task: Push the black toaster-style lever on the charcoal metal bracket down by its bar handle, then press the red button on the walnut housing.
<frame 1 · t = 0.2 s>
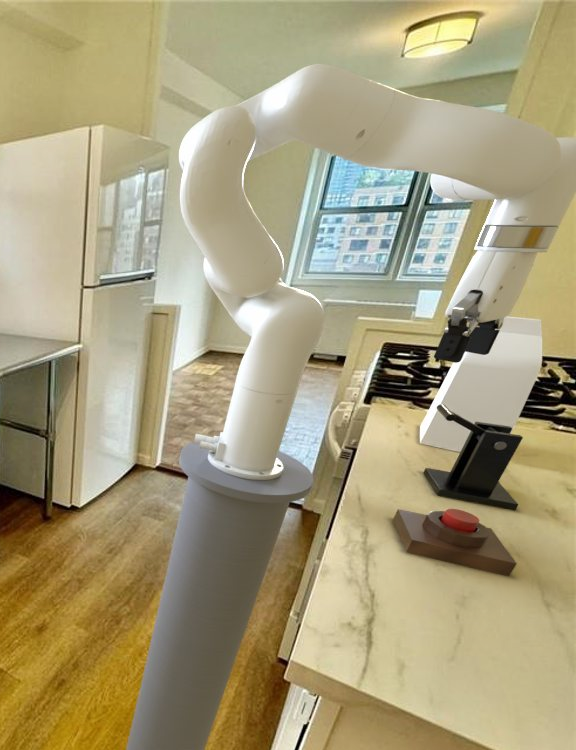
hand: (460, 356, 77), 23 cm above the worktop, tool pointing down, fingers open, 9 cm apart
button: (459, 520, 68), point 4 cm above the worktop, slide at 0.1 cm
lever: (471, 426, 81), point 12 cm above the worktop, hinge at 25.0°
bracket: (466, 490, 84), on the worktop
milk: (456, 443, 102), on the worktop
button box: (445, 546, 70), on the worktop
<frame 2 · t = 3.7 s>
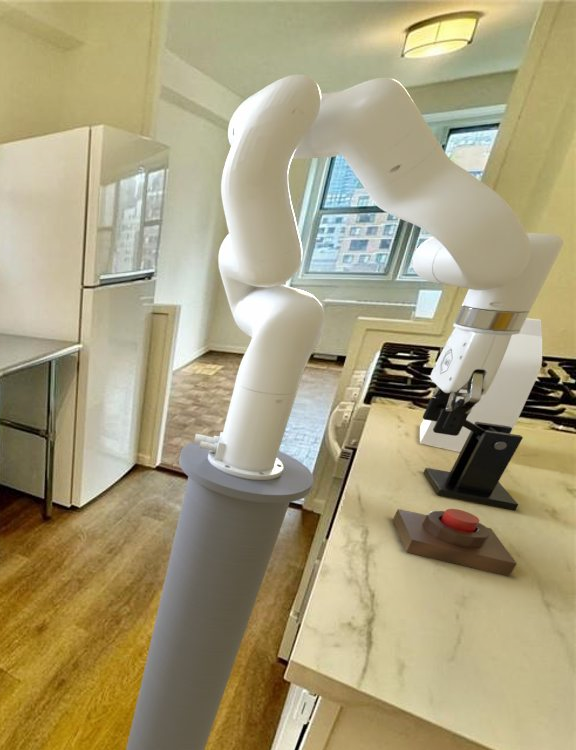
hand: (439, 425, 83), 11 cm above the worktop, tool pointing down, fingers closed on lever, 5 cm apart
lever: (471, 426, 81), point 12 cm above the worktop, hinge at 25.0°, touching gripper
everything else where it was.
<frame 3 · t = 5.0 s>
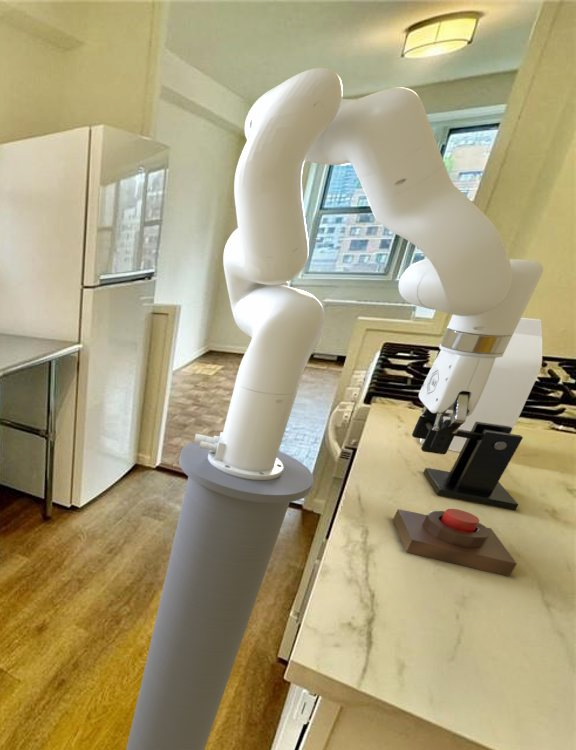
hand: (428, 444, 84), 7 cm above the worktop, tool pointing down, fingers closed on lever, 5 cm apart
lever: (465, 434, 81), point 10 cm above the worktop, hinge at 2.0°, touching gripper
everything else where it was.
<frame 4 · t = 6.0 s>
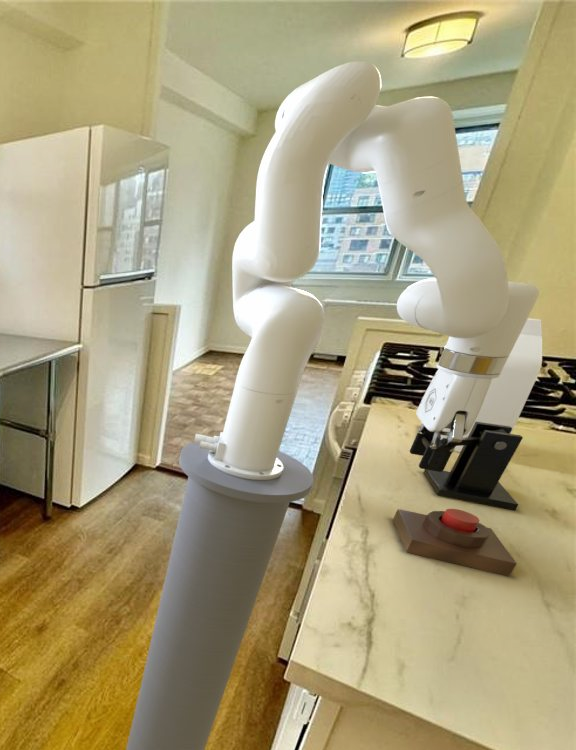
hand: (425, 461, 86), 4 cm above the worktop, tool pointing down, fingers closed on lever, 5 cm apart
lever: (463, 441, 82), point 9 cm above the worktop, hinge at -19.7°, touching gripper
everything else where it was.
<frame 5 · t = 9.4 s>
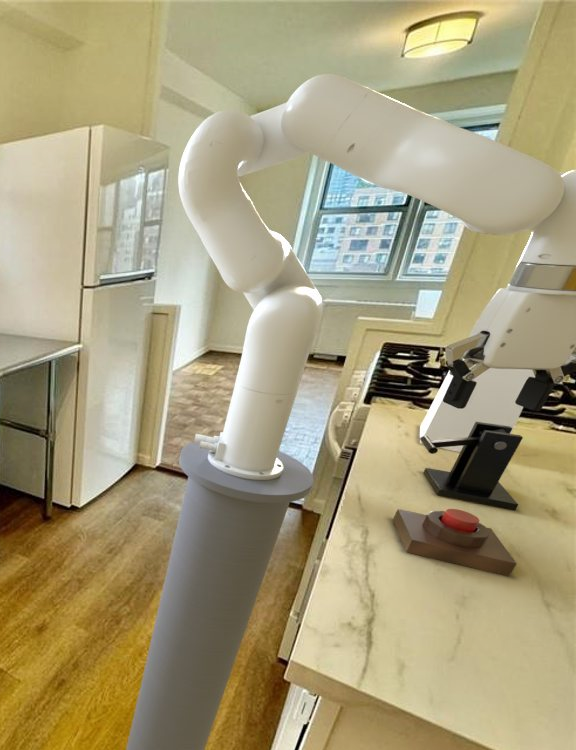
hand: (489, 406, 68), 19 cm above the worktop, tool pointing down, fingers open, 9 cm apart
lever: (463, 441, 82), point 9 cm above the worktop, hinge at -19.9°
everything else where it was.
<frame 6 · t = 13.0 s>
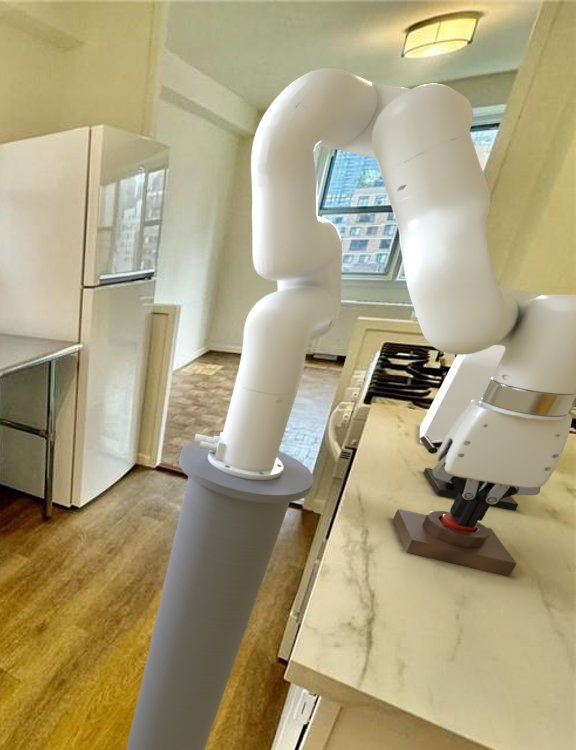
hand: (462, 521, 68), 5 cm above the worktop, tool pointing down, fingers closed
button: (456, 525, 69), point 4 cm above the worktop, slide at -0.7 cm, touching gripper
everything else where it was.
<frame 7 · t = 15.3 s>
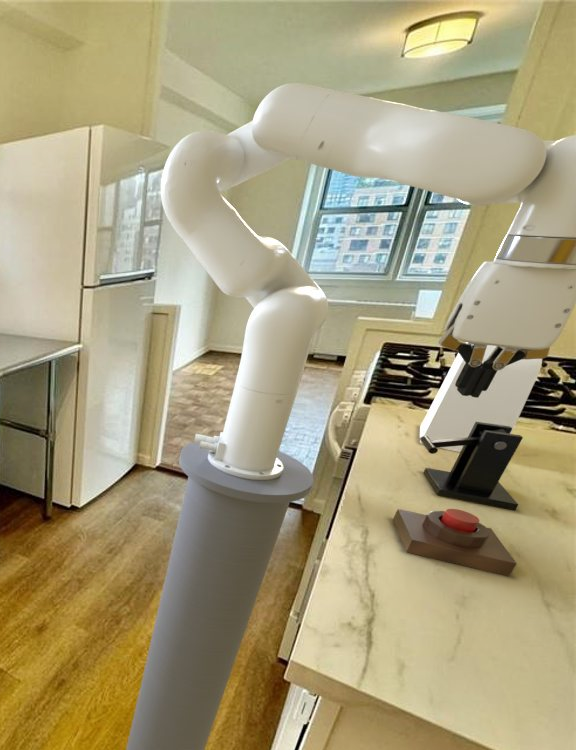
hand: (467, 393, 67), 21 cm above the worktop, tool pointing down, fingers closed
button: (459, 520, 68), point 4 cm above the worktop, slide at 0.1 cm
everything else where it was.
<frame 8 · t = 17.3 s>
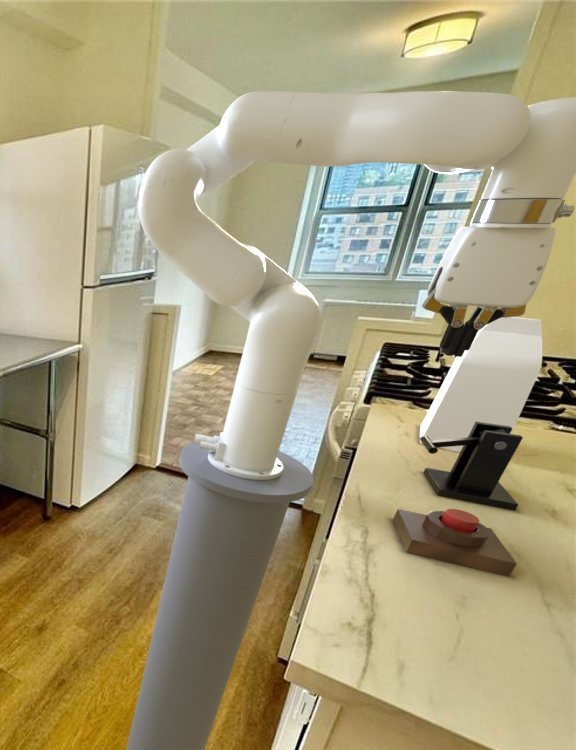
hand: (451, 353, 71), 25 cm above the worktop, tool pointing down, fingers closed
nothing on the worktop moved.
at the end: lever at -20° (first picture: +25°); button pushed in 1.1 cm at the most during the clip, back to where it started at the end; button slide at 0.1 cm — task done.
